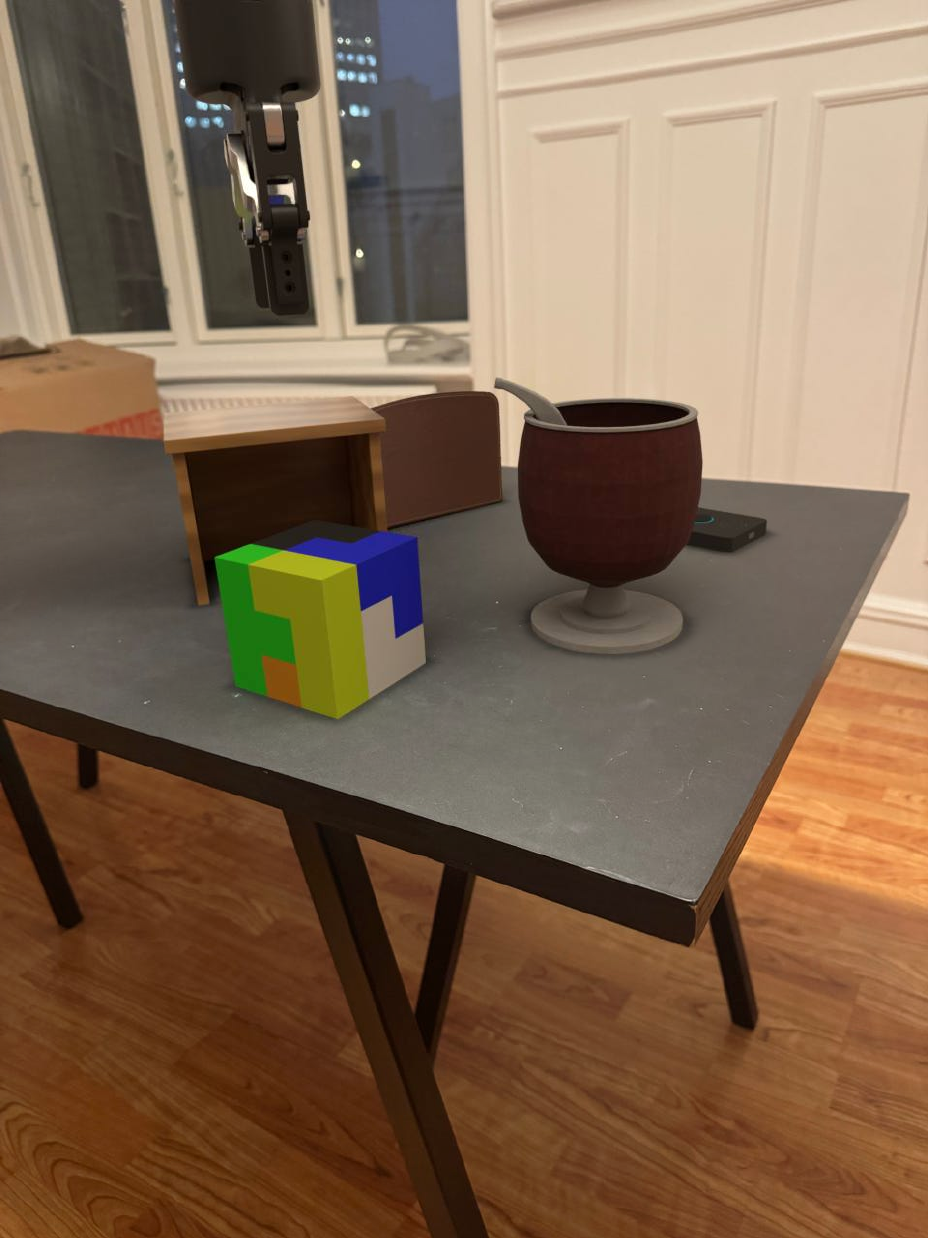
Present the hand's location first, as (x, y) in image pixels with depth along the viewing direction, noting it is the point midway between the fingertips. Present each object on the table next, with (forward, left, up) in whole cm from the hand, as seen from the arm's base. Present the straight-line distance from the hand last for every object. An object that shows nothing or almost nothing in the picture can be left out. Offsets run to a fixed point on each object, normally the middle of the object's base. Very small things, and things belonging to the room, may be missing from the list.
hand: (281, 310), depth 55 cm
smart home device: (+41, +23, -26) cm, 54 cm away
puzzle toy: (+1, +1, -26) cm, 26 cm away
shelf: (+1, +27, -26) cm, 38 cm away
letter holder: (+18, +42, -26) cm, 53 cm away
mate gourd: (+23, +2, -26) cm, 35 cm away
